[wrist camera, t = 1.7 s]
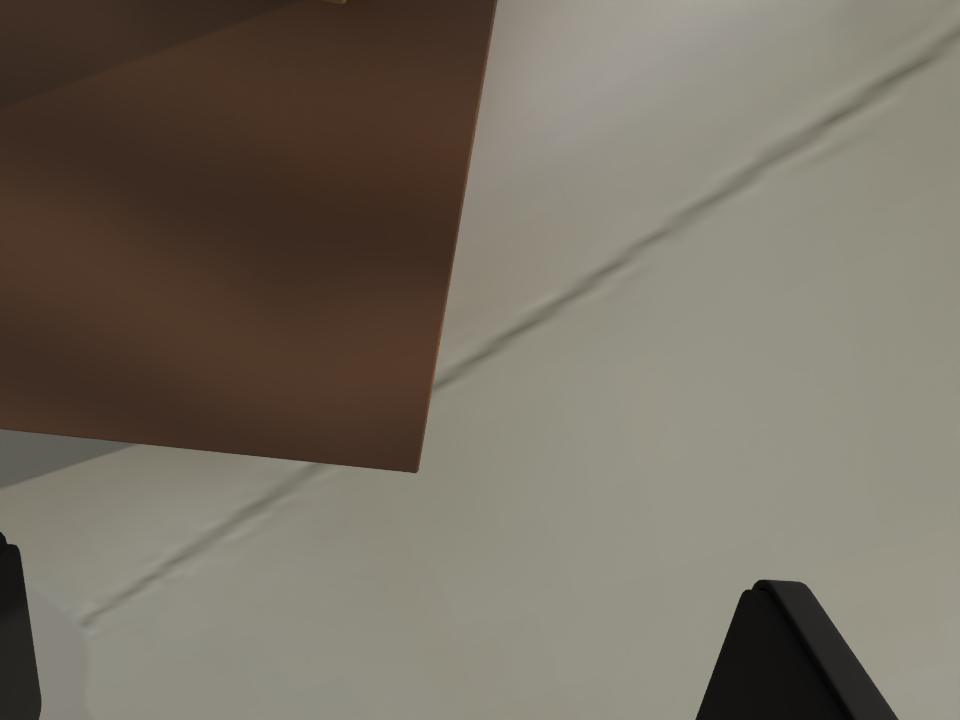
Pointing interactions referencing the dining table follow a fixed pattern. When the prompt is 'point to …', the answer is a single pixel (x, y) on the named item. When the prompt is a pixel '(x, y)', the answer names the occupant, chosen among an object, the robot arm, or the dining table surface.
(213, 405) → the chest lid
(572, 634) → the dining table surface
